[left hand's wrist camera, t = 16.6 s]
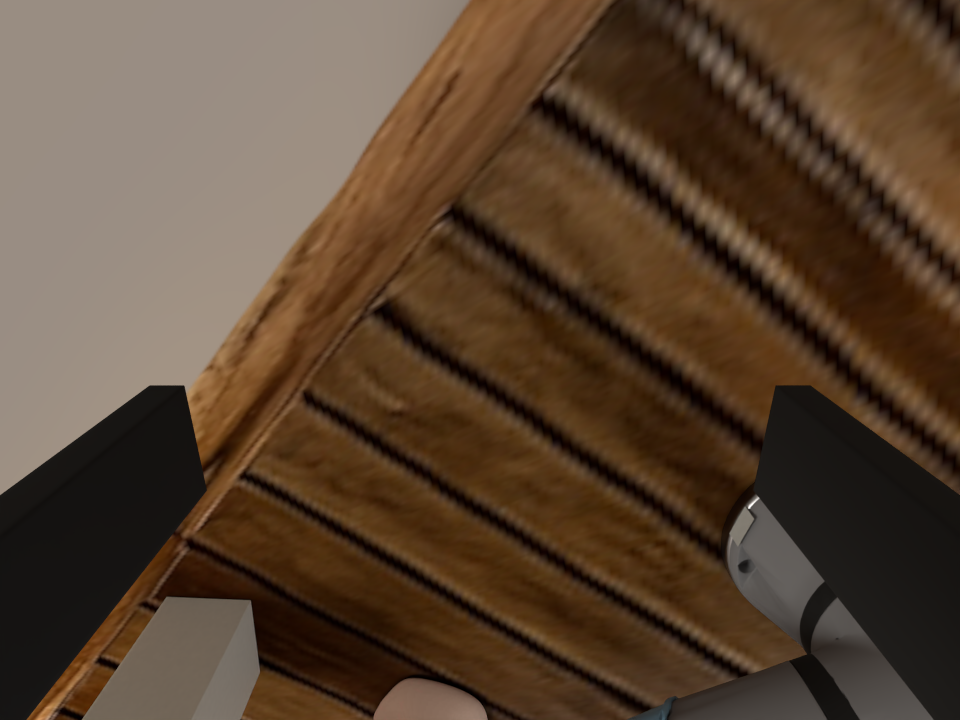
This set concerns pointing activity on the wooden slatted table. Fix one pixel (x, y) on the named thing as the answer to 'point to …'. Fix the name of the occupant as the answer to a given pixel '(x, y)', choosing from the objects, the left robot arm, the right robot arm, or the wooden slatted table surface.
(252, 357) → the wooden slatted table surface
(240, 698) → the block
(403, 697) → the anatomical model
